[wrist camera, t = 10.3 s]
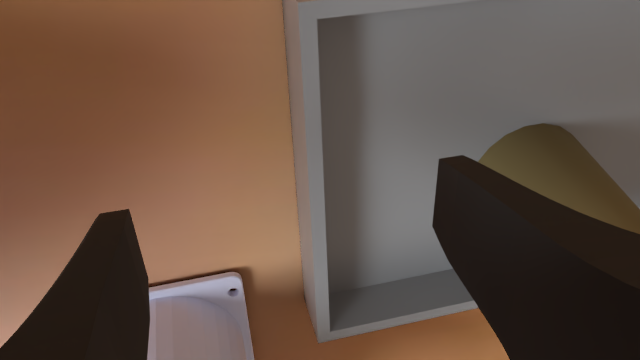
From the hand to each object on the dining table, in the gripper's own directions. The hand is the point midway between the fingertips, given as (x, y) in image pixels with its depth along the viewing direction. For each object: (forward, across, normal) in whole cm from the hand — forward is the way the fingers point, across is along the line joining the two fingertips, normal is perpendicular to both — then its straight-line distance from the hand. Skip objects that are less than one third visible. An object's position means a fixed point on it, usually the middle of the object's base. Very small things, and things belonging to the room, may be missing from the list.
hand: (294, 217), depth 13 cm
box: (+10, -13, +5) cm, 17 cm away
